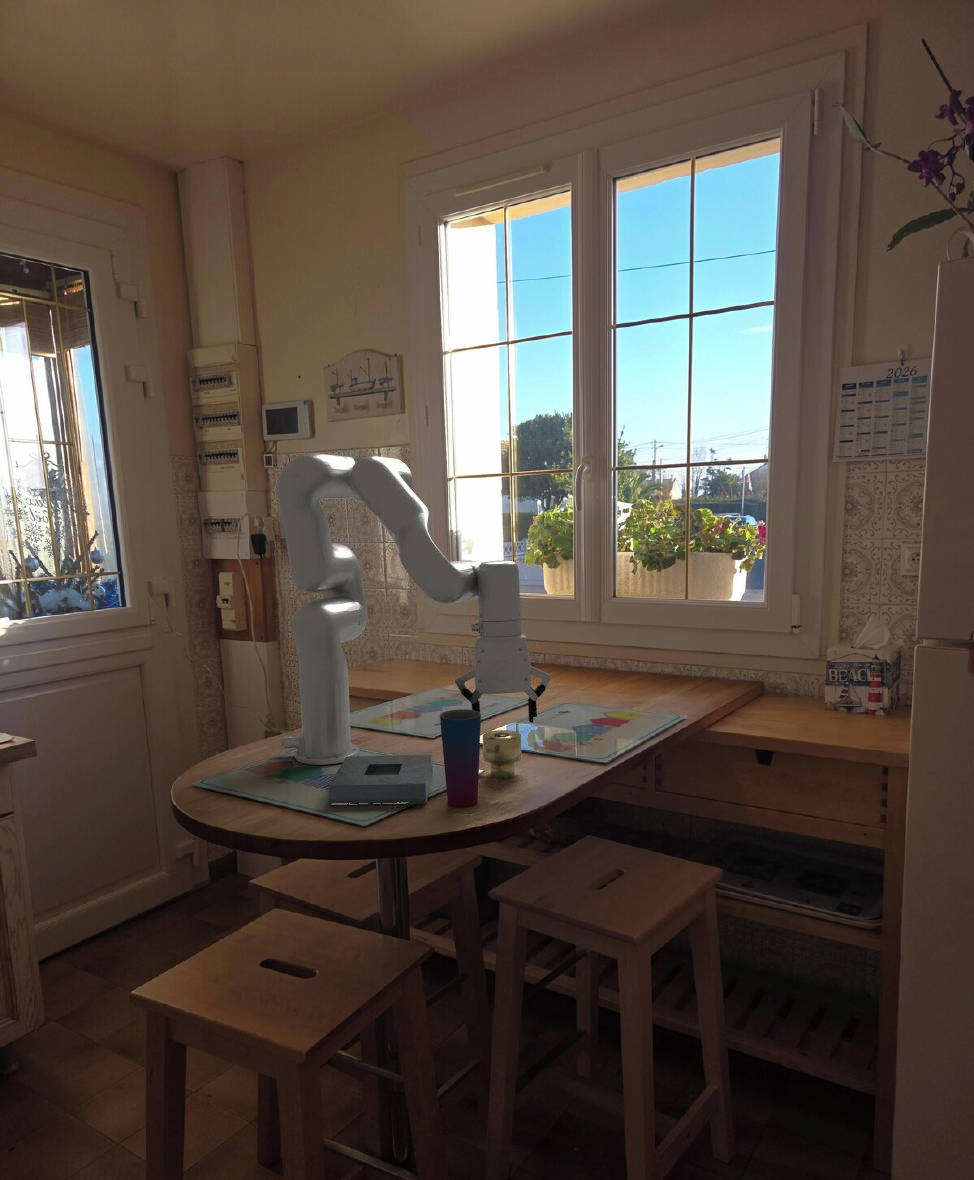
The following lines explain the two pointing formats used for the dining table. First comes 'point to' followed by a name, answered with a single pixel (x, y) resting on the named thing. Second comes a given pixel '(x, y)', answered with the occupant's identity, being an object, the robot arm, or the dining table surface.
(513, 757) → the bushing
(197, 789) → the dining table surface
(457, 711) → the cup
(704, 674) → the dining table surface
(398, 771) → the block
